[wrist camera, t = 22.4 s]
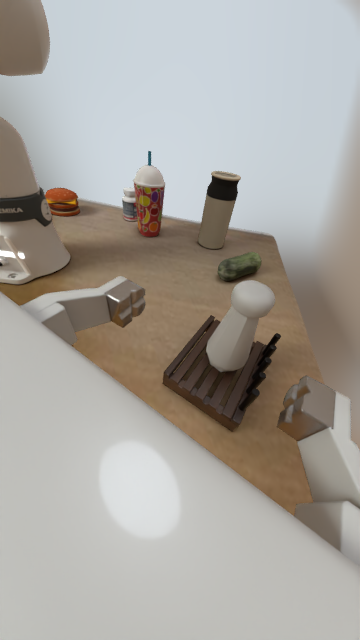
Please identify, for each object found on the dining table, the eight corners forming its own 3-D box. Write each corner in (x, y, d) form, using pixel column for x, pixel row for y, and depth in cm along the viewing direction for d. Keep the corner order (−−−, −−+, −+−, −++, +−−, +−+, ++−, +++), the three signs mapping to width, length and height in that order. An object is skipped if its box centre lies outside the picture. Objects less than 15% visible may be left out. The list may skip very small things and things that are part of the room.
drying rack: (162, 383, 29) (165, 354, 23) (207, 326, 37) (216, 296, 32) (232, 432, 25) (254, 410, 20) (263, 357, 34) (284, 328, 29)
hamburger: (48, 216, 63) (40, 192, 58) (52, 206, 69) (44, 184, 64) (80, 217, 66) (75, 193, 61) (81, 207, 72) (76, 185, 67)
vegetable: (246, 264, 56) (253, 247, 53) (260, 273, 53) (268, 256, 50) (209, 275, 50) (214, 257, 46) (223, 287, 47) (229, 268, 43)
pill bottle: (136, 222, 68) (135, 192, 61) (121, 220, 68) (118, 189, 61) (141, 217, 71) (140, 188, 65) (127, 214, 71) (124, 186, 65)
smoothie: (141, 225, 66) (139, 147, 52) (165, 230, 66) (170, 152, 51) (131, 235, 60) (126, 149, 46) (158, 241, 60) (161, 156, 46)
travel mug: (223, 251, 60) (243, 180, 47) (197, 247, 60) (210, 174, 47) (222, 240, 65) (240, 174, 53) (198, 236, 65) (210, 169, 53)
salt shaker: (248, 375, 28) (298, 307, 19) (210, 381, 27) (243, 310, 17) (233, 342, 32) (268, 272, 22) (198, 345, 30) (221, 272, 21)
